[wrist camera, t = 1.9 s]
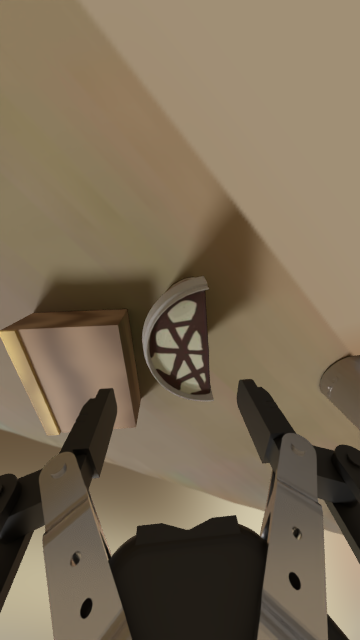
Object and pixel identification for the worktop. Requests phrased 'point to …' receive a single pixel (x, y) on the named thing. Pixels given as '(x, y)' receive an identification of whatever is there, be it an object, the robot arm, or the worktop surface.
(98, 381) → the dock
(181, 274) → the worktop surface
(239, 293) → the worktop surface
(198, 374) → the food container
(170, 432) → the worktop surface
